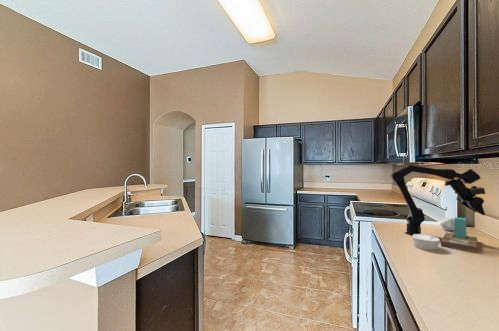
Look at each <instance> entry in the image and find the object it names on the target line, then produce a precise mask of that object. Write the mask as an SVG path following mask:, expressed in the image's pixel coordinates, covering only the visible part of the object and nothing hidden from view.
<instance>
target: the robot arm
mask: <svg viewBox="0 0 499 331" xmlns="http://www.w3.org/2000/svg"><path fill="white" fill-rule="evenodd" d="M412 172H414V173H419V174H426V175H430V176H431V175H432V176H435V177H439V178H440V179H441V178H442V179H446V180H445V181H444V184H443V185H444V187H445V186H446V187H448V186H450V187H451V189H452V190H453V191H454V194H455V195H457V196H456V198H455V199H456V201H457V202H458V203H460V204H461V205H463V206H465V207H466V208H468V209H470V210H471V211H473V212H474V213H479V214H481V215H482V216H485V215H486V213H485V210H484V208H483V204H484V203H485V199H484V198H482V197H479V196H477V195H485V194H487V193H486V191H485V188H484V187H480V186H479V187H478V186H476V185H472V186H470V187H468V186H466V184H468V185H471V184H473V183H475V182H477V181H479V180H481V179H482V178H481V176H480V174H478V173H477V172H476V171H474V170H473V169H471V168H469V169H467V170H466V171H464V172H462V173H459V172H456V171H455V170H454V169H451V168H432V167H424V166H418V165H413V164H408V165H406V166H404V167H403V168H401V169H399V170H397V171H393V172H392V173H391V175H390V177H391V179H392V181H393V182H394V183H395V185H396V186H397V187H398V189H399V191H400V193H401V196H402V197H403V200H404V201H405V203H406V205H407V207H408V211H409V214H410V215H409V216H408V217H407V218H406V222H407V223H406V231H404V233H405V234H407V235H409V236H412V235H414V234H422V227H421V224H422V223H423V222H424V221H425V216H426V215H425V214H424V212H423V209H422V208H421V207H417V205H416V203H415V201H414V199H413V197H412V195H411V193H410V191H409V189H408V188H407V185H406V180H405V177H406V176H408V175H409V174H411V173H412ZM455 178H456V179H455Z"/></svg>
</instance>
